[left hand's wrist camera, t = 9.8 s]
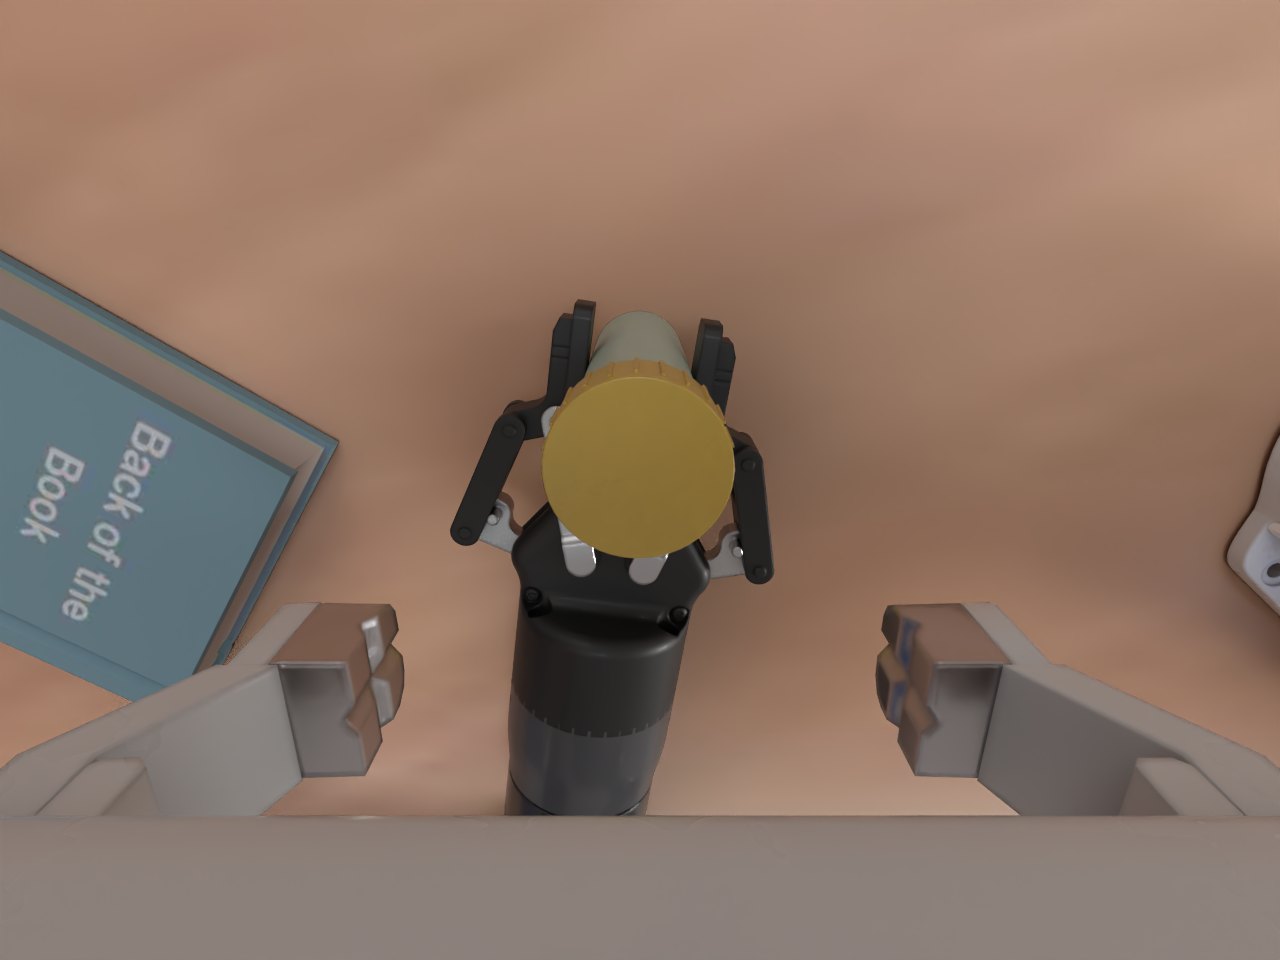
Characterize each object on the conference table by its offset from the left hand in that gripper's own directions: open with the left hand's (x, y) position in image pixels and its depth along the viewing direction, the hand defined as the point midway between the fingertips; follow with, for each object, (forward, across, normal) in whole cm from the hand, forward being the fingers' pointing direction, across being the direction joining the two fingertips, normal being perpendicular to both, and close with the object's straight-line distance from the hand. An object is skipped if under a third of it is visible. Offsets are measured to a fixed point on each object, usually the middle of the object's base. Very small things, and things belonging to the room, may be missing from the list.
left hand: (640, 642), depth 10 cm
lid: (+8, 0, 0) cm, 8 cm away
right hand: (+18, 0, -3) cm, 18 cm away
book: (+24, +29, +5) cm, 38 cm away
